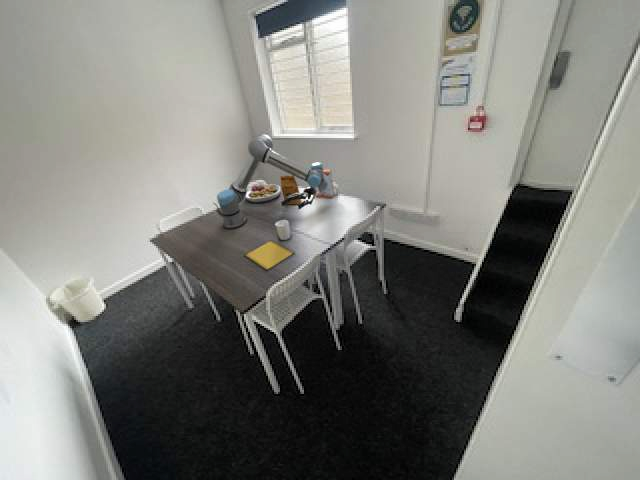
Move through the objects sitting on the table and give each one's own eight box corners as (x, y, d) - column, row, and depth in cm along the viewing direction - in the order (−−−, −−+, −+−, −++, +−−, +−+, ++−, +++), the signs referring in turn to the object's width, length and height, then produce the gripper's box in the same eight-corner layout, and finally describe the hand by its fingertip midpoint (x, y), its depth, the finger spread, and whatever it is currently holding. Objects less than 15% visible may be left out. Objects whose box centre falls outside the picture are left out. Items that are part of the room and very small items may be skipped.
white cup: (286, 241, 155) (282, 227, 150) (276, 239, 159) (272, 225, 154) (294, 235, 160) (290, 220, 155) (284, 232, 164) (280, 219, 159)
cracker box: (315, 197, 205) (311, 171, 194) (318, 194, 210) (314, 169, 199) (331, 198, 200) (328, 171, 189) (334, 195, 205) (331, 169, 194)
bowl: (288, 193, 222) (286, 184, 217) (260, 206, 205) (257, 197, 201) (267, 187, 241) (265, 179, 237) (240, 199, 224) (237, 191, 220)
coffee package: (297, 205, 197) (292, 177, 185) (283, 205, 201) (277, 178, 190) (303, 200, 204) (298, 173, 193) (288, 199, 209) (283, 173, 197)
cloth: (245, 255, 148) (245, 255, 148) (270, 241, 158) (270, 240, 158) (266, 270, 134) (266, 269, 134) (293, 253, 144) (293, 252, 143)
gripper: (327, 199, 166) (307, 214, 152) (297, 195, 180) (276, 208, 166) (326, 188, 162) (305, 202, 148) (295, 184, 176) (274, 197, 162)
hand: (290, 205), depth 157 cm, fingers open, 13 cm apart
